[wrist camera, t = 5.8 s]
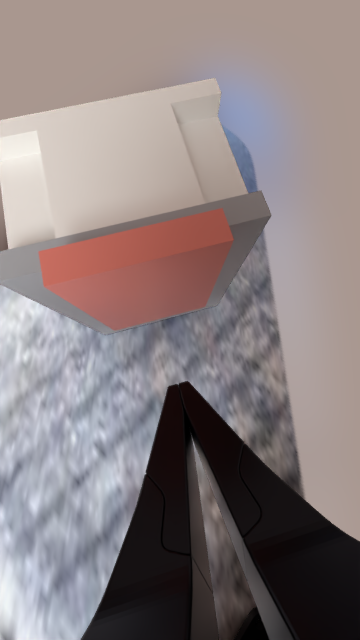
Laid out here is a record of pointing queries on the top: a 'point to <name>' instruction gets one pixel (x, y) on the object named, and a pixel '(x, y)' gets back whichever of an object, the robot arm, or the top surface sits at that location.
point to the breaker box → (119, 181)
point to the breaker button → (141, 269)
